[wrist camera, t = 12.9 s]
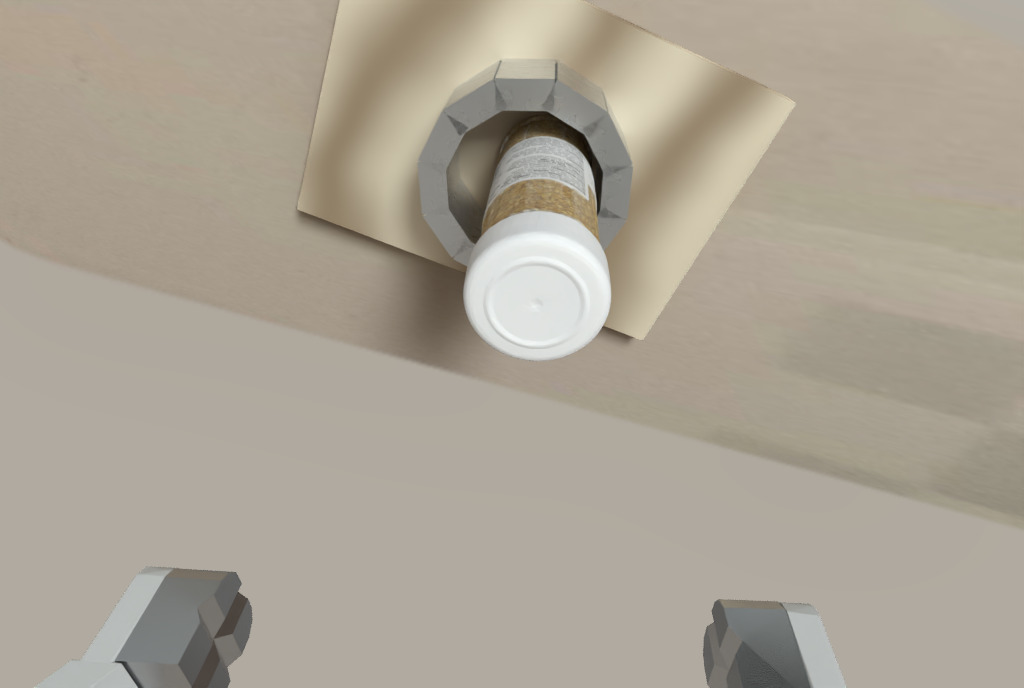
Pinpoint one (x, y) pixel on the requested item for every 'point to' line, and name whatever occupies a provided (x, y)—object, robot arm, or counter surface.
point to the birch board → (529, 35)
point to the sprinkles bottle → (539, 247)
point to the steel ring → (520, 91)
